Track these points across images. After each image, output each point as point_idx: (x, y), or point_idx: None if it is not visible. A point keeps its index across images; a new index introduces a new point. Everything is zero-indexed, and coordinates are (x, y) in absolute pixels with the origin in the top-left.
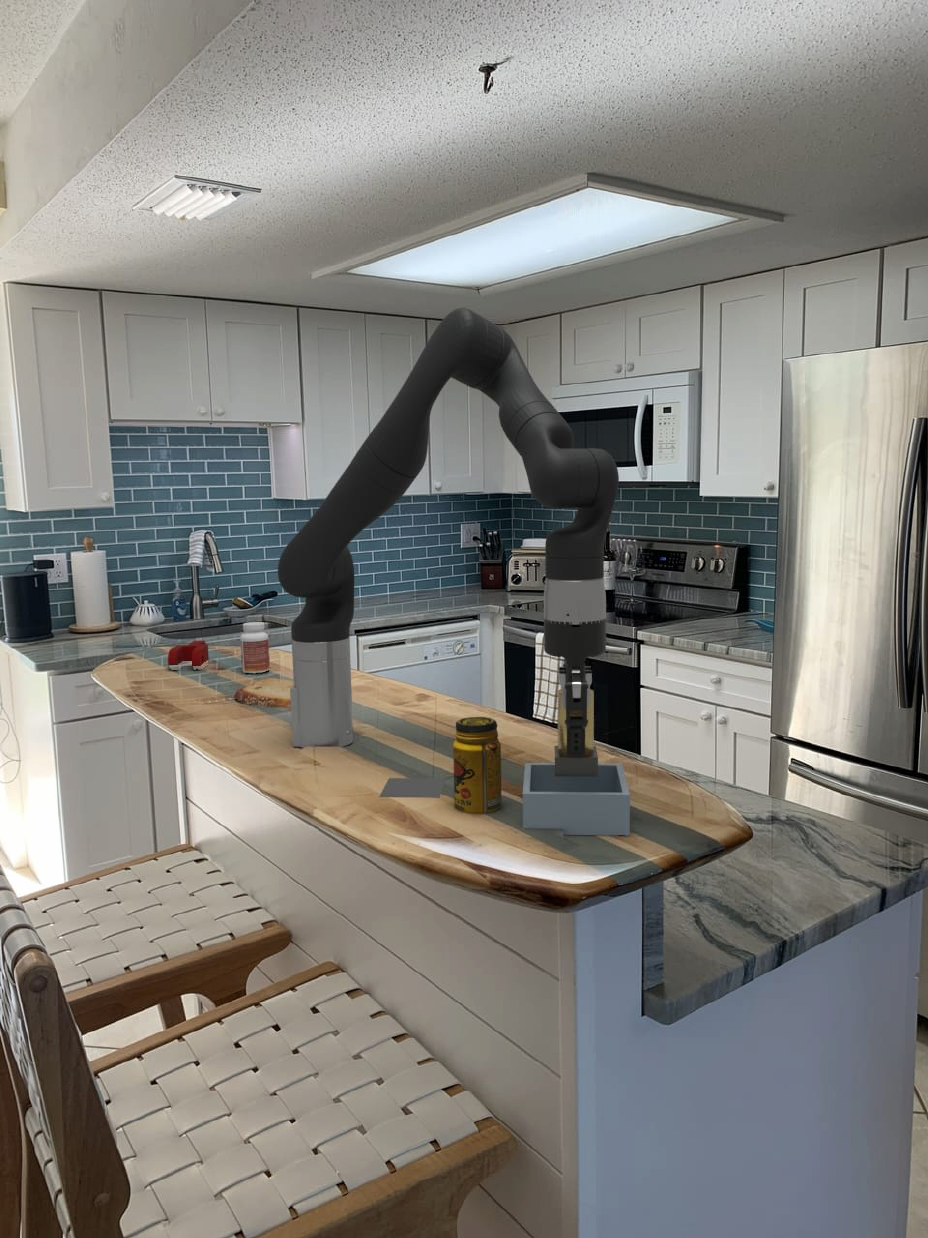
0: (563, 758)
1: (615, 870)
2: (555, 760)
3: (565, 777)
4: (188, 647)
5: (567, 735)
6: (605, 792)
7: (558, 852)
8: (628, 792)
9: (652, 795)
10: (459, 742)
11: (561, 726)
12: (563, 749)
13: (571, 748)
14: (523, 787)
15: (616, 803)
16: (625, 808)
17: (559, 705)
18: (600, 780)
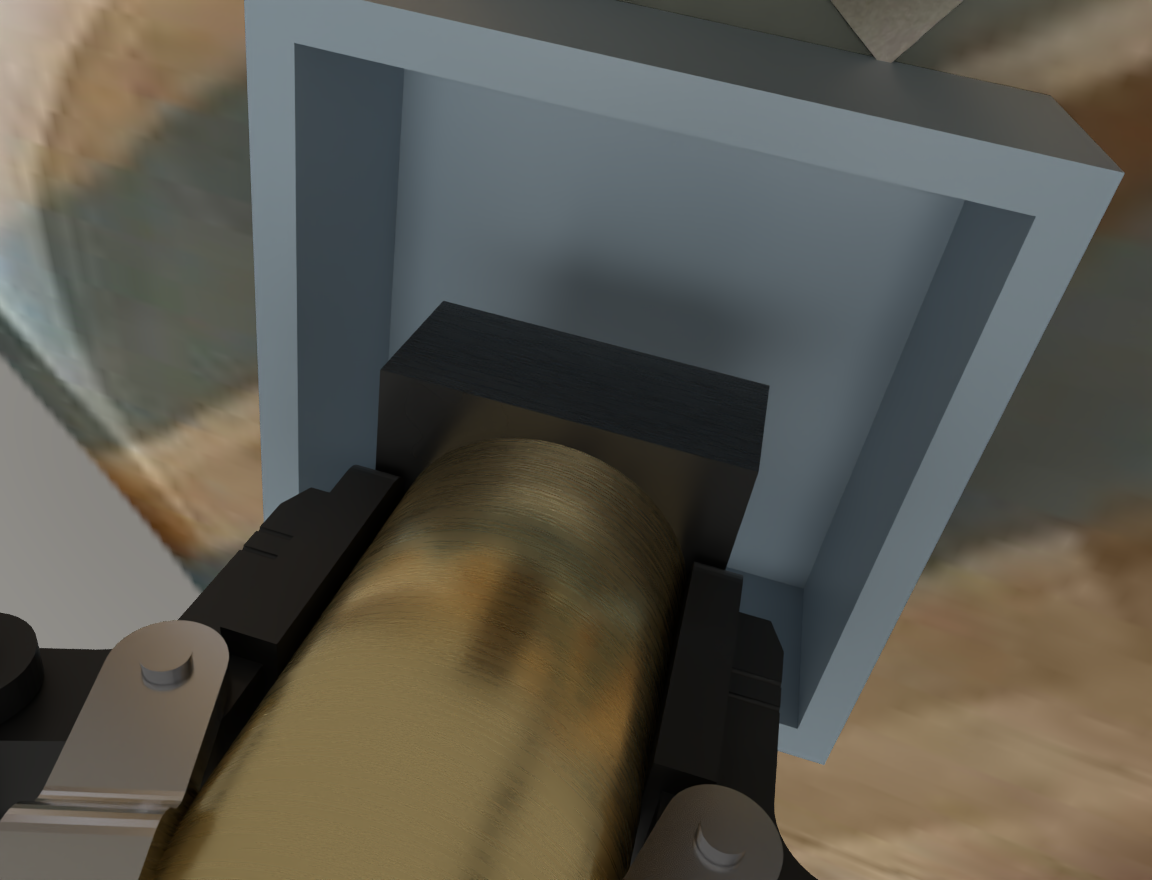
0: (380, 428)
1: (7, 298)
2: (389, 361)
3: (911, 424)
4: None
5: (257, 581)
6: (821, 567)
7: (150, 106)
8: None
9: (865, 738)
10: None
11: (355, 617)
12: (426, 481)
13: (267, 524)
14: (395, 11)
15: None
16: None
17: (260, 820)
18: (828, 592)
